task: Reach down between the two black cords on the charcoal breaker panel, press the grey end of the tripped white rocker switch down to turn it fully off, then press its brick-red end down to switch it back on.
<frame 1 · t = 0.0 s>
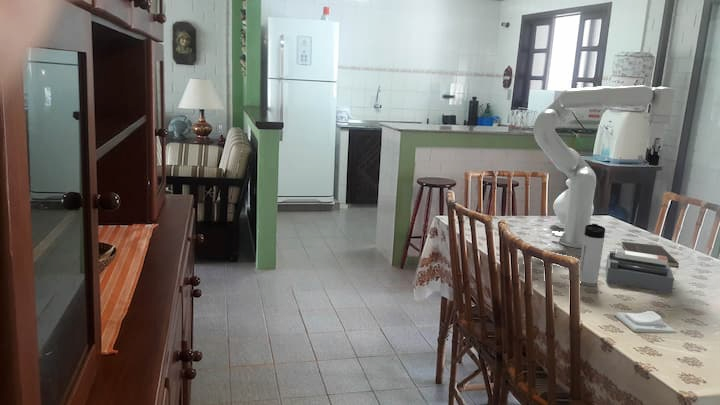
hand: (652, 163, 224), 37 cm above the table, tool pointing down, fingers open, 9 cm apart
decorative vase: (570, 227, 269), on the table
hardcover book: (647, 257, 230), on the table
light switch: (644, 326, 163), on the table
travel mug: (587, 283, 194), on the table
breaker panel: (636, 279, 200), on the table
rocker: (640, 256, 198), point 9 cm above the table, hinge at 0.0°
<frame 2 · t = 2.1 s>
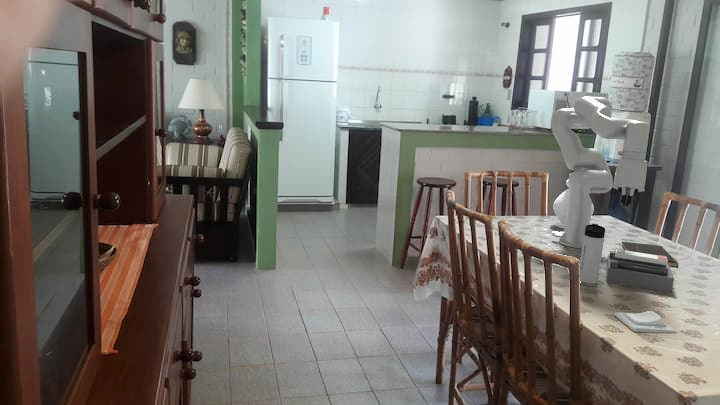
hand: (625, 205, 210), 23 cm above the table, tool pointing down, fingers closed
nothing on the table moved.
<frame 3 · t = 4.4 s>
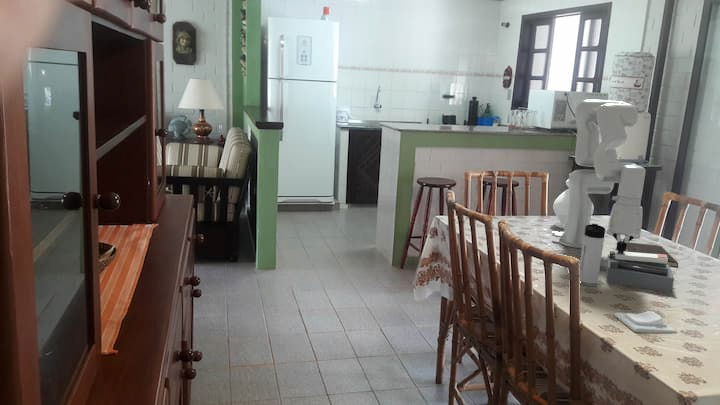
hand: (620, 252, 200), 9 cm above the table, tool pointing down, fingers closed
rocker: (640, 256, 198), point 9 cm above the table, hinge at -4.8°, touching gripper
everything else where it was.
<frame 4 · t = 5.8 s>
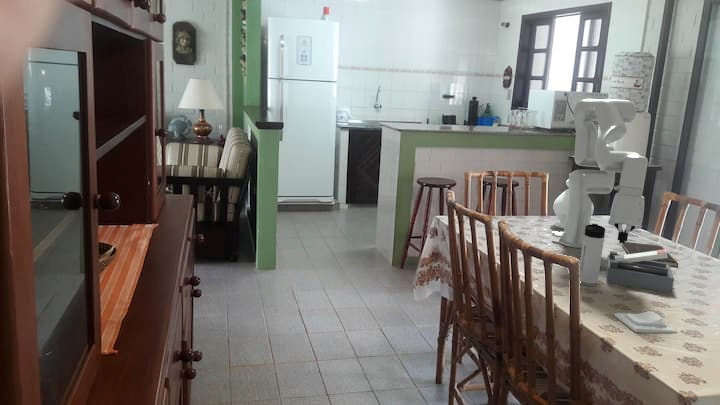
hand: (621, 242, 200), 12 cm above the table, tool pointing down, fingers closed
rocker: (640, 256, 198), point 9 cm above the table, hinge at -18.6°
everything else where it was.
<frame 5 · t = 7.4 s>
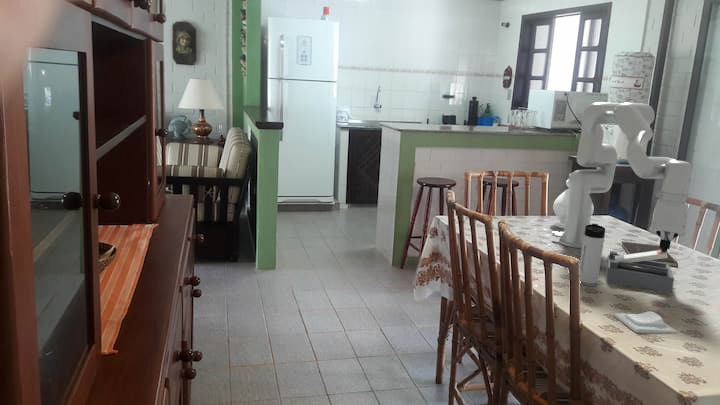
hand: (663, 250, 195), 12 cm above the table, tool pointing down, fingers closed
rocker: (640, 256, 198), point 9 cm above the table, hinge at -18.6°, touching gripper
everything else where it was.
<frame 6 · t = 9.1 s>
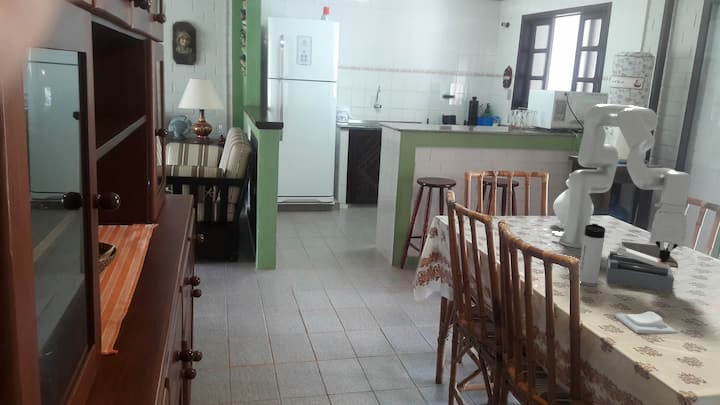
hand: (663, 261, 195), 8 cm above the table, tool pointing down, fingers closed
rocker: (640, 256, 198), point 9 cm above the table, hinge at 11.4°
everything else where it was.
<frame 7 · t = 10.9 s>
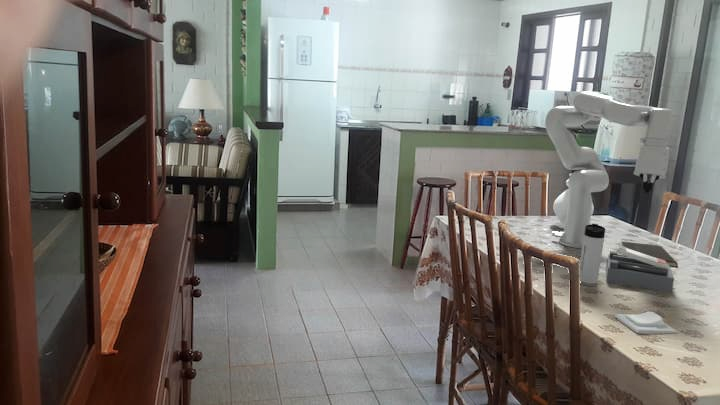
hand: (646, 192, 211), 28 cm above the table, tool pointing down, fingers closed
nothing on the table moved.
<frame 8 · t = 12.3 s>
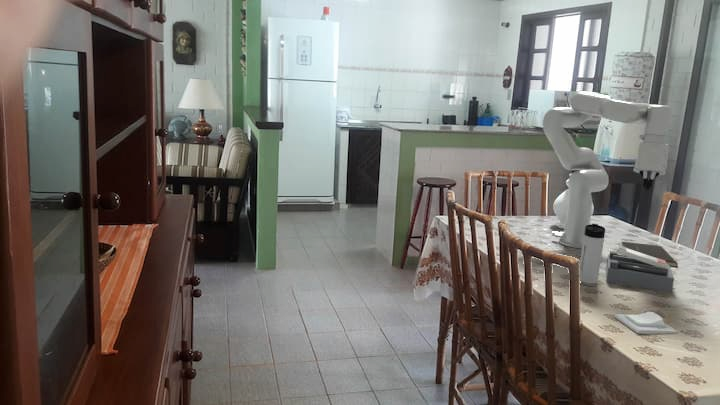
hand: (646, 189, 211), 29 cm above the table, tool pointing down, fingers closed
nothing on the table moved.
at the end: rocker at +12° (first picture: +0°); travel mug moved 0.2 cm from its start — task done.
